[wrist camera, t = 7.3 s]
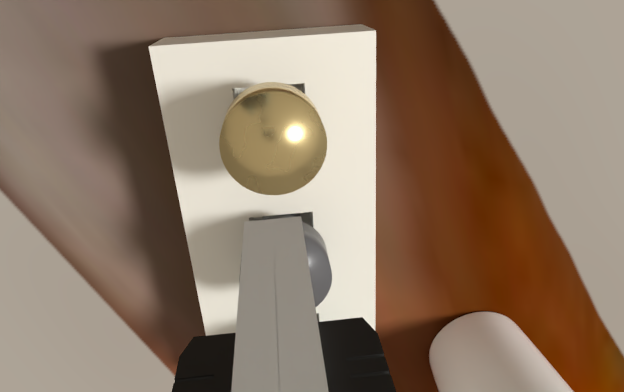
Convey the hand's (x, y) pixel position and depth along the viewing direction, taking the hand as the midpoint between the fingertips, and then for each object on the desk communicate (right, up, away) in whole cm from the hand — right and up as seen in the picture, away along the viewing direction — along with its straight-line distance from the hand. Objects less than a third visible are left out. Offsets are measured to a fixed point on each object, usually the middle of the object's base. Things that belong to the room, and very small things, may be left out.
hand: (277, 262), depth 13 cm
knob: (-1, +7, +16) cm, 17 cm away
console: (-1, 0, +21) cm, 21 cm away
